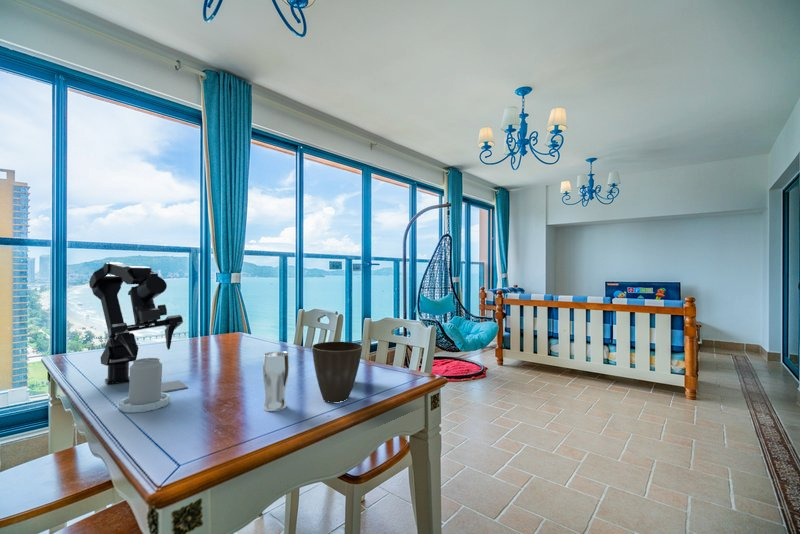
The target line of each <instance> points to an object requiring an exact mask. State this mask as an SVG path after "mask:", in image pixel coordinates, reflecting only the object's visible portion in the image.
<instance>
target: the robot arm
mask: <svg viewBox="0 0 800 534" xmlns="http://www.w3.org/2000/svg"><path fill="white" fill-rule="evenodd" d="M123 284H126V285H136V286H131V288H130V290H129V291H128V293H127V295H128V296H130V303H131V306H132V307H131V308H132V313H133V318H134V324H130V325H129V324H127V322H124V317H123V312H122V309H121V304H120V301H119V297H118V294H119V292H120V290H121V289H122V285H123ZM88 285H89V288H90V289H91V291H92V294H93V296H95V297H96V298H97V299H99V300H100V302H101V307H102V311H103V316H104V319H105V325H106V327H107V333H108V339H107V342H106V343H105V345H104V347H105V348H104V350H103V352H102V354H101V356H100V364H101V365H102V366H103V365H104V366H107V378H104V382H105V384H106V385H113V384H118V383H119V384H120V383H125V382H129V378H130V362H133V361H135V360H137V358H138V352H139V345H138V343H137V341H136V338H135V334H134V333H133V332H135V331H136V332H137V331H141V330H146V329H154V328H159V327H165V329H164V337H165V344H166V349H167V350H168V351H169V350H170V349H171V344H172V339H173V335H174V332H175V330H176V329H178V328H179V327H180V326H181V325H182V324H183V323H184V319H183V316H182V315H180V314H174V315H168V310H167V305H166V304H159V305H157V307H156V305H155V304H156V303H155V301H154V299H155V298H157V297H158V296H160V295H161V294H162V293H164V292H165V291H166V290H167V287H168V286H167V282H166V281H165V280H164V278H162V277H160V276H159V274H158V273H157V272H155V271H153V270H152V268H151V266H140V265H139V266H133V265H132V266H131V265H129V264H128V265H127V264H124V263H122V262H114V261H113V262H109V261H108V262H105V263H104V264H103V266H102V267H101V268H99V269H97V270H95V271H93V273H92V275H91V277H90V279H89V283H88ZM162 316H167V317H166V318H164V319H161V317H162Z"/></svg>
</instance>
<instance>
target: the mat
mask: <svg viewBox="0 0 800 534" xmlns="http://www.w3.org/2000/svg"><path fill="white" fill-rule="evenodd" d="M186 388H187V389H189V387H188V385H186V384H185V383H183V382H182V381H181V380H171V381H166V382H162V384H161V392H163V393H169V391H170V392H174V390H175V391H179V390H180V389H181V390H185V389H186ZM187 389H186V390H187ZM181 390H180V391H181Z"/></svg>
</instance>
